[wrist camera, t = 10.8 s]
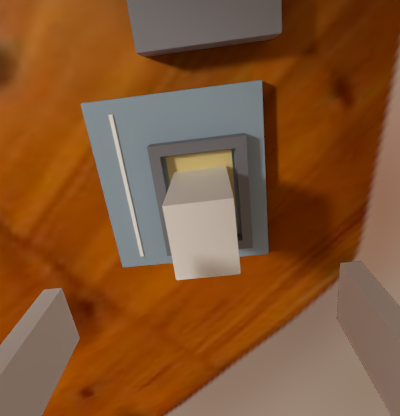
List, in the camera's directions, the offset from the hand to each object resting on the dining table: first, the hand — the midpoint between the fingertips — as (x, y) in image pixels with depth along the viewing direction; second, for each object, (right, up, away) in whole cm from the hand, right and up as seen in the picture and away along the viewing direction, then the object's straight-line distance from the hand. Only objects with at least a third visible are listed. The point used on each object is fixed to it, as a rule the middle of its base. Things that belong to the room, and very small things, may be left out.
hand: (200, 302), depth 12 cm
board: (-1, +6, +13) cm, 14 cm away
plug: (0, +5, +12) cm, 13 cm away
